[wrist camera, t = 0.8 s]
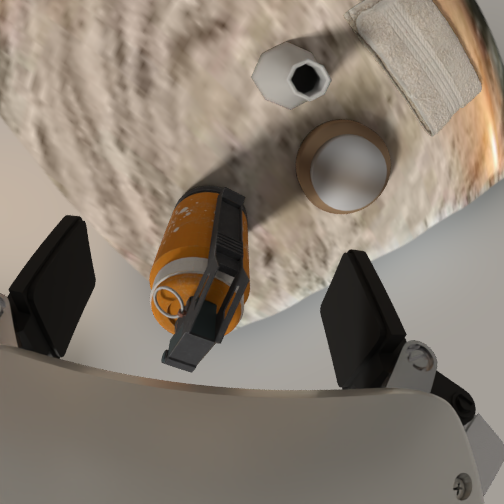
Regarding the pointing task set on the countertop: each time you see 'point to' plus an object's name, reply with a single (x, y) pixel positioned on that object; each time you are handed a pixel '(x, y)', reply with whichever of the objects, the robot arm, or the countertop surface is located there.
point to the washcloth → (417, 56)
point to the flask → (290, 76)
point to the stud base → (318, 140)
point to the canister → (201, 273)
